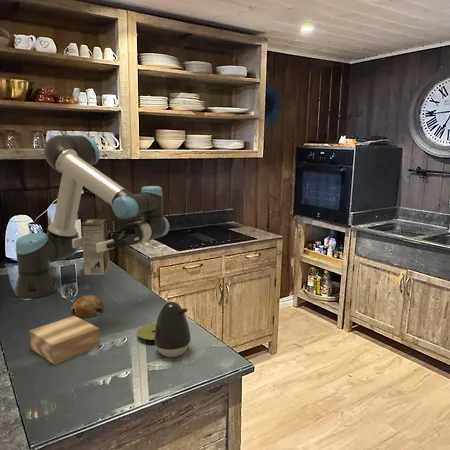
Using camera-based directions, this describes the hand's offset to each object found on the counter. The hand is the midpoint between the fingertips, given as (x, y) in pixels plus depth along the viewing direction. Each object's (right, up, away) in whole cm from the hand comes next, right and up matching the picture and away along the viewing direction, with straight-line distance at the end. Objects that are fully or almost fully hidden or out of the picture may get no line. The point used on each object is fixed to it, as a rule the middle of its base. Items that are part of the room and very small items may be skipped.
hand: (84, 245), depth 126 cm
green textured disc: (+21, -28, +1) cm, 36 cm away
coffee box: (+2, -8, +5) cm, 10 cm away
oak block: (-4, -30, -5) cm, 31 cm away
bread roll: (-6, -25, +20) cm, 33 cm away
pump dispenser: (+28, -30, -9) cm, 42 cm away
